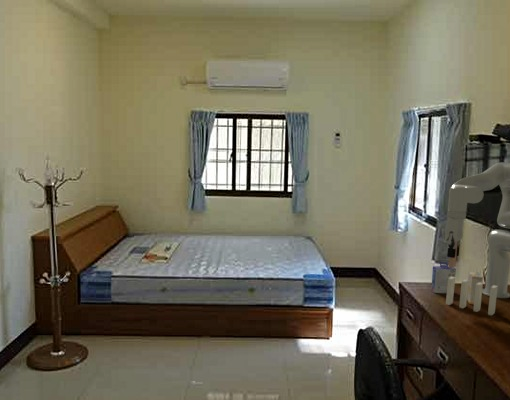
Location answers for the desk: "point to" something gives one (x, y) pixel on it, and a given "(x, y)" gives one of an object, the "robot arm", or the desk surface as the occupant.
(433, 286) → the ink cartridge box
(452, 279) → the domino
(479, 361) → the desk surface
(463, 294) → the domino
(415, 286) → the desk surface
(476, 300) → the domino
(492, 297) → the domino
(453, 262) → the domino
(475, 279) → the supplement box
